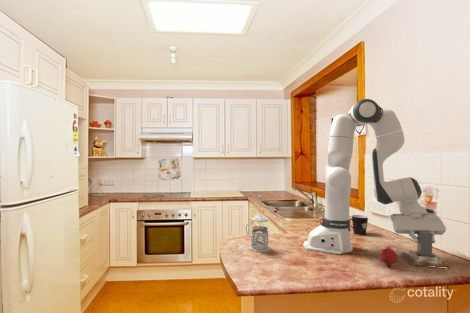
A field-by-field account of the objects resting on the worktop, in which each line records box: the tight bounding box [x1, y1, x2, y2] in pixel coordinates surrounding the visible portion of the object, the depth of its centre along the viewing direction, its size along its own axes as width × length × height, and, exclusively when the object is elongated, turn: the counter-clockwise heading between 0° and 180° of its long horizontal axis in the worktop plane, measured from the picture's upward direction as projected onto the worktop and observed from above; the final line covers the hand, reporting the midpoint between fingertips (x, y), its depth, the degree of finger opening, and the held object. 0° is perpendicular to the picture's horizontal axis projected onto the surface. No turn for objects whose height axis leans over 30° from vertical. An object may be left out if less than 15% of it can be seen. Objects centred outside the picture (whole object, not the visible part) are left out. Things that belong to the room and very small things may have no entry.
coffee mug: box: [349, 214, 369, 236], centre depth 163 cm, size 12×9×10 cm
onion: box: [379, 245, 398, 267], centre depth 113 cm, size 6×6×8 cm
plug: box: [416, 231, 433, 255], centre depth 119 cm, size 4×4×9 cm
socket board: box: [401, 249, 450, 269], centre depth 119 cm, size 13×13×3 cm
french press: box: [245, 195, 271, 253], centre depth 134 cm, size 10×12×25 cm
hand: (425, 242), depth 118 cm, fingers closed on plug, 4 cm apart
